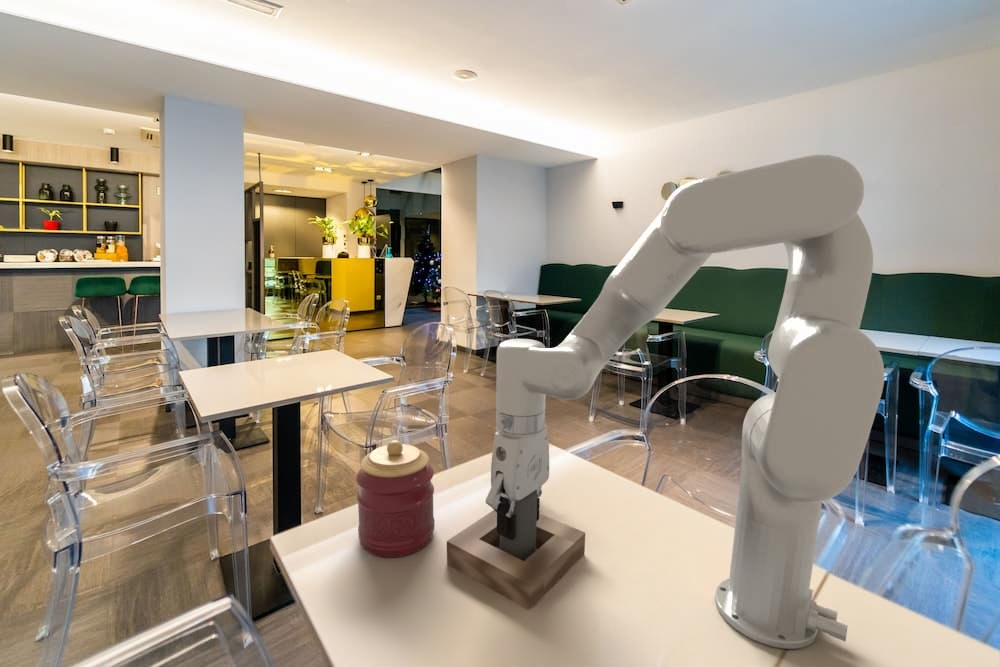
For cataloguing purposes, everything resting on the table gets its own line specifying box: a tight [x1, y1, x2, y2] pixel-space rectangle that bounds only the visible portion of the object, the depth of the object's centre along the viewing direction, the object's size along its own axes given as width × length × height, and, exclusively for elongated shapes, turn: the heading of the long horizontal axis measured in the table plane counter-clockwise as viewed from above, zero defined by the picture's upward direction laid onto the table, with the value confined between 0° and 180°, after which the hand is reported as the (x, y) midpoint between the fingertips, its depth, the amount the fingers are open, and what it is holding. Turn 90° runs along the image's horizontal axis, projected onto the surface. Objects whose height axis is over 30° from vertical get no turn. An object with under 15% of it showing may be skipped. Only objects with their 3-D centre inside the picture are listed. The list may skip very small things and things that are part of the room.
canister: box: [355, 439, 436, 558], centre depth 84 cm, size 13×13×18 cm
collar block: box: [446, 509, 586, 611], centre depth 79 cm, size 16×16×4 cm
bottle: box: [499, 490, 537, 561], centre depth 78 cm, size 6×6×15 cm
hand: (518, 525), depth 79 cm, fingers closed on bottle, 5 cm apart
